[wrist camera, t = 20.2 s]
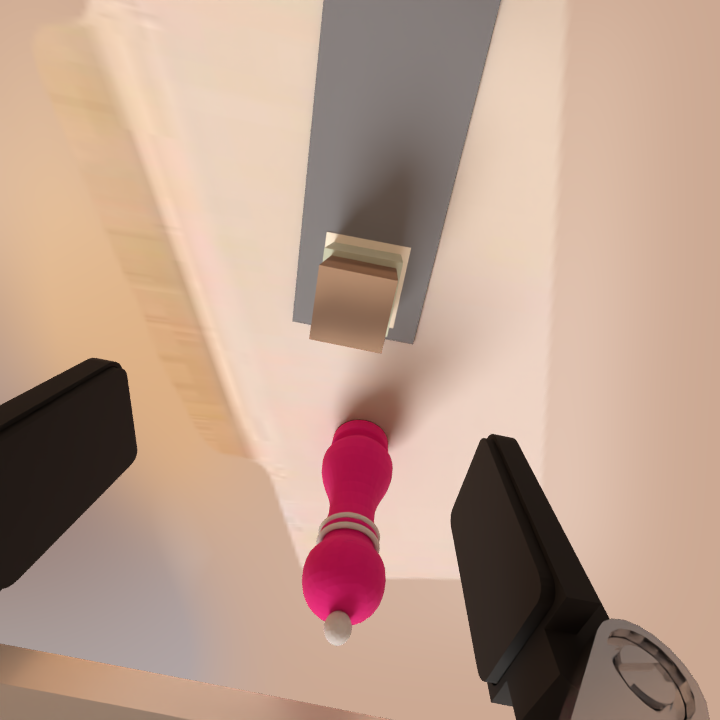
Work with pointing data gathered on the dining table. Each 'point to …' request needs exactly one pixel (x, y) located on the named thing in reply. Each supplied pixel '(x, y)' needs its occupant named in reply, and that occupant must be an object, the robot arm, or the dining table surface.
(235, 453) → the dining table surface
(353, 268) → the walnut cube
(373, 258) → the sage block
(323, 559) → the pepper mill
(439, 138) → the build mat
